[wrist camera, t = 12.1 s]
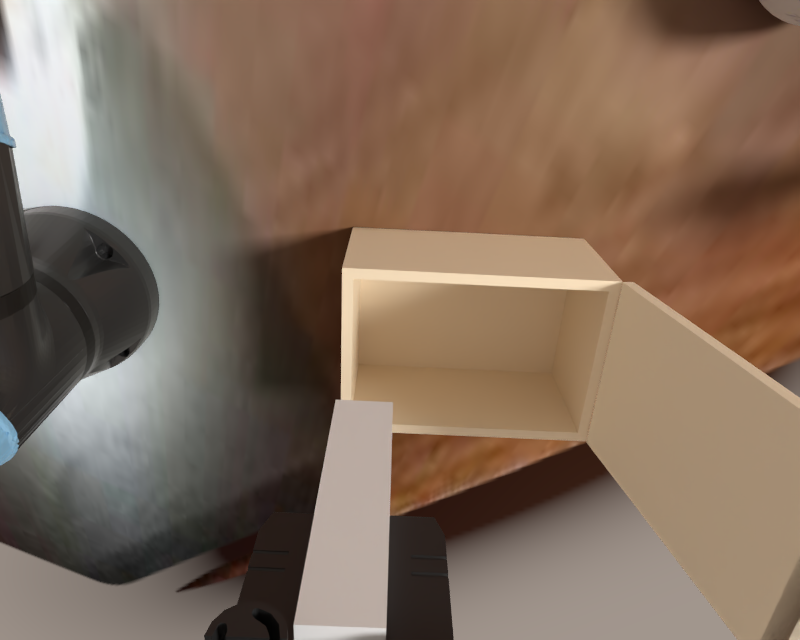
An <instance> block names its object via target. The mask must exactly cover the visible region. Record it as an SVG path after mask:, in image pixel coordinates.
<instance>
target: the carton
mask: <svg viewBox="0 0 800 640" xmlns="http://www.w3.org/2000/svg"><path fill="white" fill-rule="evenodd" d="M621 286H622V281H621V279H620V278H619V277H618V276H617V275H616V274H615V273H614V272H613V271H612V269H611V268H610V267H609V266H608V265H607V264H606V263H605V262H604V261H603V259H602V258H601V257H600V256H599V255H598V254H597V253H596V252H595V251H594V249H593V248H592V247H591V246H590V245H589V244H588V243H587V242H586V241H585V239H579V238H559V237H540V236H520V235H501V234H481V233H461V232H442V231H422V230H402V229H383V228H363V227H353V229H352V233H351V236H350V240H349V244H348V248H347V251H346V255H345V259H344V262H343V266H342V331H341V400H356V401H377V402H393V418H392V433H414V434H436V435H458V436H481V437H503V438H525V439H547V440H569V441H586V439H587V435H588V430H589V426H590V421H591V417H592V413H593V408H594V404H595V400H596V395H597V391H598V387H599V382H600V378H601V374H602V369H603V365H604V360H605V356H606V352H607V347H608V343H609V339H610V334H611V330H612V326H613V321H614V317H615V312H616V308H617V304H618V299H619V295H620V291H621Z"/></svg>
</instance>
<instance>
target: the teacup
mask: <svg viewBox="0 0 800 640" xmlns="http://www.w3.org/2000/svg"><path fill="white" fill-rule="evenodd" d="M759 1H760V2H761V4H762V5H763V6H764V7H765V8H766V9H767V10H768V11H769V12H770V13H771V14H772V15H774V16H775V17H777V18H778V19H780V20H782V21H785V22H787V23H790V24H793V25H798V26H800V0H759Z"/></svg>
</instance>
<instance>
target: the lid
mask: <svg viewBox="0 0 800 640" xmlns="http://www.w3.org/2000/svg"><path fill="white" fill-rule="evenodd" d="M586 442H587V444H588V445H589V446H590V447H591V449H592V450H593V451H594V453H595V454H596V455H597V457H598V458H599V459H600V461H601V462H602V463H603V464H604V466H605V467H606V468H607V470H608V471H609V472H610V474H611V475H612V476H613V478H614V479H615V480H616V482H617V483H618V484H619V485H620V487H621V488H622V489H623V491H624V492H625V493H626V494H627V496H628V497H629V498H630V500H631V501H632V502H633V504H634V505H635V506H636V508H637V509H638V510H639V512H640V513H641V514H642V516H643V517H644V518H645V519H646V521H647V522H648V523H649V525H650V526H651V527H652V529H653V530H654V531H655V533H656V534H657V535H658V536H659V538H660V539H661V540H662V542H663V543H664V544H665V546H666V547H667V548H668V549H669V551H670V552H671V553H672V555H673V556H674V557H675V559H676V560H677V561H678V562H679V564H680V565H681V566H682V568H683V569H684V570H685V572H686V573H687V574H688V575H689V577H690V578H691V580H692V581H693V582H694V584H695V585H696V586H697V588H698V589H699V590H700V591H701V593H702V594H703V595H704V597H705V598H706V599H707V601H708V602H709V603H710V605H711V606H712V607H713V608H714V610H715V611H716V612H717V614H718V615H719V616H720V617H721V619H722V620H723V622H724V623H725V624H726V625H727V627H728V628H729V629H730V631H731V632H732V633H733V635H734V636H735V637H736V639H737V640H800V398H799V397H798V396H796V395H795V394H793V393H792V392H791V391H789V390H788V389H786V388H785V387H783V386H782V385H781V384H779V383H778V382H776V381H775V380H773V379H772V378H770V377H769V376H768V375H766V374H765V373H763V372H762V371H760V370H759V369H758V368H756V367H755V366H753V365H752V364H750V363H749V362H747V361H746V360H745V359H743V358H742V357H740V356H739V355H737V354H736V353H735V352H733V351H732V350H730V349H729V348H727V347H726V346H724V345H723V344H722V343H720V342H719V341H717V340H716V339H714V338H713V337H712V336H710V335H709V334H707V333H706V332H704V331H703V330H701V329H700V328H699V327H697V326H696V325H694V324H693V323H691V322H690V321H689V320H687V319H686V318H684V317H683V316H681V315H680V314H678V313H677V312H676V311H674V310H673V309H671V308H670V307H668V306H667V305H666V304H664V303H663V302H661V301H660V300H658V299H657V298H655V297H654V296H653V295H651V294H650V293H648V292H647V291H645V290H644V289H643V288H641V287H640V286H638V285H637V284H635V283H634V282H623V285H622V289H621V293H620V298H619V302H618V306H617V311H616V315H615V319H614V324H613V328H612V332H611V337H610V341H609V345H608V350H607V354H606V359H605V363H604V367H603V372H602V376H601V380H600V385H599V389H598V393H597V398H596V402H595V406H594V411H593V415H592V419H591V424H590V428H589V432H588V437H587V441H586Z"/></svg>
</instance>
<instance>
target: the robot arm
mask: <svg viewBox="0 0 800 640" xmlns="http://www.w3.org/2000/svg"><path fill="white" fill-rule="evenodd" d="M12 148H16V144H15V140H14V139H13V138H12V137H11V136H10V134H9V130H8V125H7V121H6V117H5V112H4V108H3V104H2V99H1V95H0V465H3V464H4V463H5V462H7V461H9V460H10V459H11V458H12V457H13V456H14V455H15V454H16V452H17V450H18V449H19V448H20V446H21V445H22V444H23V443H24V442H25V441H26V440H27V439H28V438H29V437H30V435H31V434H32V433H33V432H34V431H35V430H36V429H37V428H38V427H39V426H40V424H41V423H42V422H43V421H44V420H45V419H46V418H47V417H48V416H49V414H50V413H51V412H52V411H53V410H54V409H55V408H56V407H57V406H58V405H59V403H60V402H61V401H62V400H63V399H64V398H65V397H66V396H67V395H68V393H69V392H70V391H71V390H72V389H73V388H74V387H75V386H76V385H77V383H78V382H79V381H80V380H81V379H84V378H86V377H89V376H91V375H94V374H96V373H99V372H101V371H104V370H107V369H109V368H112V367H114V366H116V365H118V364H120V363H122V362H123V361H125V360H126V359H127V358H129V357H130V356H131V355H132V354H133V353H134V352H136V350H137V349H138V348H139V347H140V346H141V345H142V343H143V342H144V341H145V340H146V339H147V338H148V336H149V335H150V333H151V331H152V330H153V328H154V325H155V323H156V320H157V316H158V310H159V294H158V288H157V284H156V280H155V277H154V275H153V272H152V270H151V268H150V266H149V264H148V262H147V260H146V259H145V257H144V256H143V254H142V253H141V252H140V250H139V249H138V248H137V247H136V245H135V244H134V243H133V242H132V241H131V240H130V239H129V238H128V237H127V236H126V235H125V234H123V233H122V232H121V231H120V230H118V229H117V228H116V227H114V226H113V225H111V224H110V223H108V222H106V221H105V220H103V219H101V218H99V217H97V216H95V215H92V214H90V213H87V212H84V211H81V210H78V209H73V208H68V207H59V206H46V207H38V208H33V209H30V210H27V211H23V205H22V200H21V194H20V189H19V183H18V178H17V172H16V167H15V161H14V155H13V150H12ZM392 418H393V402H377V401H356V400H336V401H335V406H334V412H333V417H332V422H331V428H330V433H329V438H328V444H327V449H326V454H325V460H324V465H323V470H322V476H321V481H320V486H319V492H318V497H317V502H316V508H315V513H314V514H305V513H282V512H274V513H273V514H272V515H271V516H270V517H269V519H268V520H267V521H266V522H265V523H264V524H263V526H262V527H261V528H260V529H259V532H258V536H257V539H256V542H255V546H254V549H253V554H252V556H251V559H250V563H249V566H248V571H247V573H246V577H245V580H244V583H243V587H242V590H241V593H240V597H239V600H238V604H237V605H235V606H233V607H231V608H228V609H226V610H224V611H223V612H222V613H221V614H220V615H219V616H218V617H217V618H216V619H214V620H213V621H212V623H211V624H210V626H209V628H208V630H207V632H206V633H205V635H204V637H205V640H453V627H452V616H451V603H450V591H449V579H448V568H447V560H446V559H447V558H446V544H445V535H444V534H443V532H442V530H441V528H440V527H439V525H438V523H437V522H436V520H435V518H432V517H408V516H390V487H391V453H392Z"/></svg>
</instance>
